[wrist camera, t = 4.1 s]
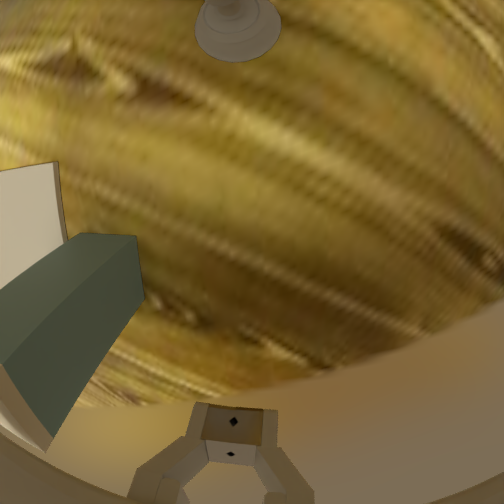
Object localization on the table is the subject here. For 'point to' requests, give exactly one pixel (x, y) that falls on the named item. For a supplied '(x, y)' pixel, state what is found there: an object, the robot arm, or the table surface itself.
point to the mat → (29, 217)
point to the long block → (62, 329)
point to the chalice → (237, 28)
